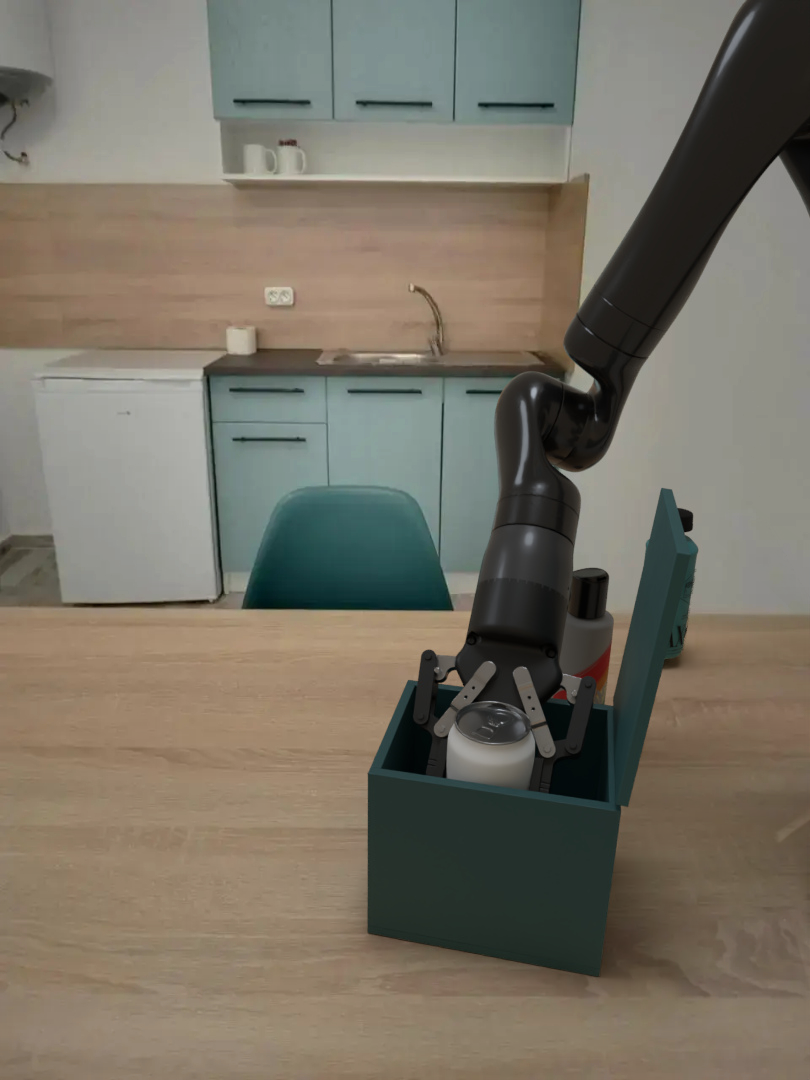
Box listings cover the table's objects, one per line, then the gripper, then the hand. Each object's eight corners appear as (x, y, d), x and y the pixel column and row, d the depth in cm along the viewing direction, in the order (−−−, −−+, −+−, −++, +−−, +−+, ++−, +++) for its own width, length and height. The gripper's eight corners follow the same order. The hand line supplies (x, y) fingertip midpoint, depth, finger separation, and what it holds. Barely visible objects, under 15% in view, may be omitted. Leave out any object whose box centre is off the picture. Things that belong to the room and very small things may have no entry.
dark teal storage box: (367, 933, 64) (367, 773, 59) (404, 819, 77) (407, 679, 71) (599, 977, 61) (621, 811, 56) (599, 850, 73) (617, 705, 68)
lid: (677, 552, 49) (691, 554, 49) (661, 487, 61) (672, 489, 61) (615, 804, 56) (628, 807, 55) (612, 700, 68) (622, 702, 68)
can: (540, 845, 66) (552, 715, 61) (501, 896, 60) (511, 758, 56) (469, 814, 69) (475, 688, 65) (427, 859, 64) (431, 727, 60)
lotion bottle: (573, 765, 85) (592, 586, 78) (534, 739, 89) (548, 567, 82) (610, 746, 88) (632, 573, 81) (571, 722, 92) (588, 555, 85)
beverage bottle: (628, 665, 105) (647, 515, 98) (632, 642, 111) (650, 499, 104) (682, 674, 103) (705, 522, 96) (683, 650, 109) (705, 505, 102)
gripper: (429, 563, 66) (380, 773, 60) (614, 588, 62) (582, 816, 56) (444, 597, 73) (401, 789, 66) (611, 621, 69) (583, 828, 62)
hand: (484, 800), depth 61 cm, fingers closed on can, 6 cm apart
